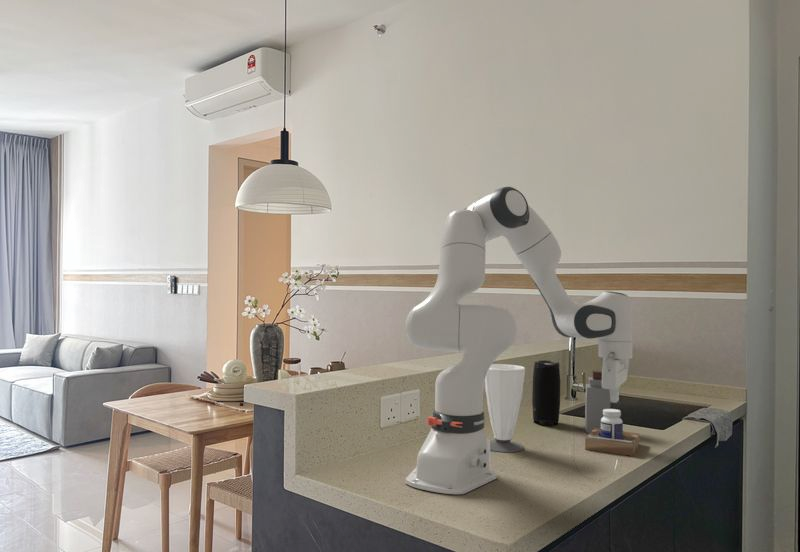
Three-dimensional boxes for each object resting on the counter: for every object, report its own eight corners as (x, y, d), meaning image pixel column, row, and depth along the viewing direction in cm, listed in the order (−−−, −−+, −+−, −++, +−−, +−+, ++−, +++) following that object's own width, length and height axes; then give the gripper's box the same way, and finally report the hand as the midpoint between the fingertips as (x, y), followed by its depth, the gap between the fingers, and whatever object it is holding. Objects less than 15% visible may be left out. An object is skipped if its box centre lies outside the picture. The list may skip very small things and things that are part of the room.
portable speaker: (535, 426, 187) (535, 363, 187) (529, 419, 196) (530, 359, 196) (562, 427, 186) (563, 363, 187) (556, 420, 196) (556, 360, 196)
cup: (509, 439, 170) (510, 363, 170) (533, 450, 160) (534, 368, 160) (473, 443, 166) (474, 364, 166) (495, 454, 155) (497, 370, 155)
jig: (632, 456, 156) (632, 443, 156) (585, 449, 161) (585, 436, 161) (639, 444, 168) (639, 431, 168) (594, 438, 174) (594, 426, 174)
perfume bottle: (586, 432, 180) (587, 372, 181) (585, 427, 187) (585, 369, 187) (610, 434, 179) (610, 373, 179) (607, 428, 185) (608, 370, 186)
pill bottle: (619, 444, 167) (620, 408, 168) (624, 449, 162) (625, 412, 162) (598, 443, 168) (599, 407, 168) (602, 448, 162) (603, 411, 163)
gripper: (621, 355, 154) (620, 409, 154) (632, 349, 172) (631, 397, 172) (596, 353, 157) (595, 406, 157) (609, 347, 175) (608, 395, 175)
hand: (614, 401), depth 164 cm, fingers closed
